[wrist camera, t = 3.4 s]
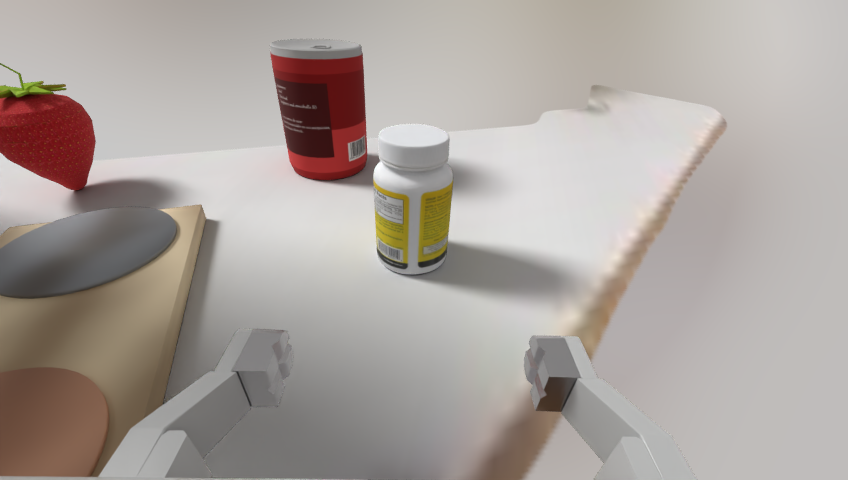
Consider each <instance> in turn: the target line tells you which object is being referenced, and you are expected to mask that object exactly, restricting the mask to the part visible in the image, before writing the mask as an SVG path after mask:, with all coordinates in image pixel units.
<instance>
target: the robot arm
mask: <svg viewBox="0 0 848 480" xmlns="http://www.w3.org/2000/svg"><path fill="white" fill-rule="evenodd" d="M288 340H289V334H288V331H285V330H266V329H238V330H237V331H236V332H235V334H234V335H233V337H232V339H231V341H230V343H229V344H228V346H227V348H226V350H225V352H224V354H223V355H222V357H221V359H220V361H219V363H218V364H217V366H216V368H215V370H214V371H209V372H207V373H206V374H205V375H203V376H202V377H200V378H199V379H198V380H196V381H195V382H194V383H192V384H191V385H190V386H188V387H187V388H185V389H184V390H183V391H181V392H180V393H179V394H177V395H176V396H174V397H173V398H172V399H170V400H169V401H168V402H166V403H165V404H163V405H162V406H161V407H159V408H158V409H157V410H155V411H154V412H152V413H151V414H150V415H148V416H147V417H146V418H144V419H143V420H141V421H140V422H139V423H137V424H136V425H135V426H133V427H132V428H131V429H130V430H129V432H128V433H127V435H126V436H125V438H124V439H123V441H122V442H121V444H120V445H119V447H118V448H117V450H116V451H115V452H114V454H113V455H112V457H111V458H110V460H109V461H108V463H107V464H106V466H105V467H104V469H103V470H102V472H101V473H100V475H99V476H98V477H48V476H0V480H366V479H251V478H212V474H211V471H210V470H209V468H208V466H207V465H206V463H205V462H204V460H203V458H204V457H205V456H206V455H207V454H208V453H209V452H210V451H211V450H212V449H213V447H214V446H215V445H216V444H217V443H218V442H219V441H220V440H221V439H222V438H223V437H224V436H225V435H226V434H227V433H228V432H229V431H230V430H231V429H232V428H233V427H234V426H235V425H236V424H237V423H238V422H239V421H240V420H241V419H242V417H243V416H244V415H245V414H246V413H247V412H248V411H249V410H250V409H251V407H278V406H279V403H280V400H281V397H282V394H283V391H284V389H285V386H284V383H283V380H284V379H285V378H286V377H288V376H289V374H290V371H291V368H292V362H293V350H292V346H290V345H289V344H288ZM529 345H530V349H529V350H528V351H526V354H525V357H524V369H525V375H526V378H527V380H528V381H529V382H530V383H531V384H532V388H531V391H530V393H531V396H532V400H533V403H534V407H535V410H536V411H554V412H561V414H562V415H563V416H564V417H565V418H566V419H567V421H568V422H569V423H570V424H571V425H572V426H573V428H574V429H575V430H576V431H577V432H578V433H579V435H580V436H581V437H582V438H583V439H584V441H586V443H587V444H588V445H589V446H590V447H591V449H592V450H593V451H594V452H595V453H596V455H597V456H598V457H599V458H600V459H601V460H602V462H603V463H604V464H603V466H602V467H601V469H600V470H599V472H598V473H597V475H596V476H595V478H594V480H697V478H696V477H695V475H694V473H693V472H692V470H691V468H690V466H689V465H688V463H687V461H686V459H685V457H684V456H683V454H682V452H681V450H680V449H679V447H678V445H677V443H676V442H675V440H674V438H673V437H672V436H671V435H670V434H669V433H668V432H667V431H665V430H664V429H663V428H662V427H661V426H659V425H658V424H657V423H656V422H654V421H653V420H652V419H651V418H650V417H648V416H647V415H646V414H645V413H644V412H643V411H641V410H640V409H639V408H638V407H637V406H635V405H634V404H633V403H632V402H630V401H629V400H628V399H627V398H626V397H624V396H623V395H622V394H621V393H620V392H618V391H617V390H616V389H615V388H614V387H612V386H611V385H610V384H609V383H607V382H606V381H605V380H604V379H599V378H598V376H597V374H596V372H595V370H594V368H593V366H592V363H591V361H590V359H589V357H588V355H587V353H586V351H585V349H584V347H583V344H582V342H581V340H580V339H579V338H578V337H577V336H532V337H531V338H530V341H529Z"/></svg>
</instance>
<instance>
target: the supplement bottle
mask: <svg viewBox="0 0 848 480" xmlns="http://www.w3.org/2000/svg"><path fill="white" fill-rule="evenodd" d="M378 154H379V159H380V162H379V163H378V164H377V166H376V167H375V169H374V175H373V182H374V202H375V221H376V239H377V254H378V258H379V260H380V261H381V263H382V264H383V265H384V266H385V267H387V268H388V269H390V270H392V271H394V272H397V273H401V274H422V273H427V272H430V271H433V270H435V269H436V268H438V267H439V266H440V265H441V264H442V263H443V262H444V260H445V258H446V253H447V243H448V232H449V221H450V209H451V197H452V187H453V172H452V169H451V168H450V166H449V165H448V164H447V161H448V156H449V134H448V133H447V132H446V131H444V130H443V129H440V128H437V127H434V126H430V125H423V124H401V125H394V126H390V127H387V128H385V129H383V130H382V131H380V133H379V150H378Z"/></svg>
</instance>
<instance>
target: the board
mask: <svg viewBox="0 0 848 480" xmlns="http://www.w3.org/2000/svg"><path fill="white" fill-rule="evenodd" d="M205 221H206V217H205V214H204V211H203V208H202V205H193V206H184V207H176V208H167V209H159V210H157V209H153V208H147V207H117V208H108V209H101V210H95V211H90V212H86V213H81V214H77V215H74V216H70V217H67V218H63V219H60V220H57V221H54V222H49V223H41V224H32V225H24V226H15V227H9V228H8V229H7V230H6V231H5V232H4V233H3V234H2V235H1V236H0V476H48V477H98V476H99V475H100V473H101V472H102V470H103V469H104V467H105V466H106V464H107V463H108V461H109V460H110V458H111V457H112V455H113V454H114V452H115V451H116V450H117V448H118V447H119V445H120V444H121V442H122V441H123V439H124V438H125V436H126V435H127V433H128V432H129V430H130V429H131V428H132V427H133V426H135V425H136V424H137V423H139V422H140V421H141V420H143V419H144V418H146V417H147V416H148V415H150V414H151V413H152V412H154V411H155V410H157V409H158V408H159V407H161V406H162V404H163V400H164V396H165V392H166V387H167V383H168V379H169V375H170V370H171V366H172V362H173V357H174V353H175V349H176V345H177V340H178V336H179V332H180V328H181V323H182V319H183V315H184V311H185V306H186V302H187V298H188V293H189V289H190V285H191V281H192V276H193V272H194V268H195V264H196V259H197V255H198V251H199V246H200V242H201V238H202V234H203V229H204V225H205Z"/></svg>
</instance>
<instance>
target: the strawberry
mask: <svg viewBox="0 0 848 480" xmlns="http://www.w3.org/2000/svg"><path fill="white" fill-rule="evenodd" d="M0 65H2V66H4V67H6V68H8V69H10V68H9V67H7V66H5V65H3V64H1V63H0ZM10 70H12V69H10ZM12 71H14V70H12ZM14 72H15V73H17V74H18V75H19V79H20V83H21V86H22V88H17V87H8V86H5V85H4V86H0V153H2V154H3V155H4V156H5V157H6V158H7V159H8V160H10V161H12V162H14V163H16V164H18V165H20V166H22V167H24V168H26V169H28V170H29V171H31V172H33V173H35V174H37V175H39V176H41V177H44V178H46V179H49V180H51V181H54V182H56V183H59V184H61V185H63V186H64V187H66V188H68V189H71V190H80V189H82V188H84V187H85V185H86V183H87V178H88V174H89V171H90V168H91V165H92V162H93V155H94V148H95V135H94V130H93V124H92V120H91V118H90V116H89V115H88V114H87V112H86V111H85V109H84V108H83V107H82V105H80V104H79V103H77V102H76V101H74V100H72V99H71V98H69V97H67V96H63V95H57V94H54V93H53V92H51V91H60V90H66V88H61V87H65V86H66V85H65V84H61V85H41V84H43V81H39V82H31V83H23V82H22V78H21V74H20V73H18V72H16V71H14Z"/></svg>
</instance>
